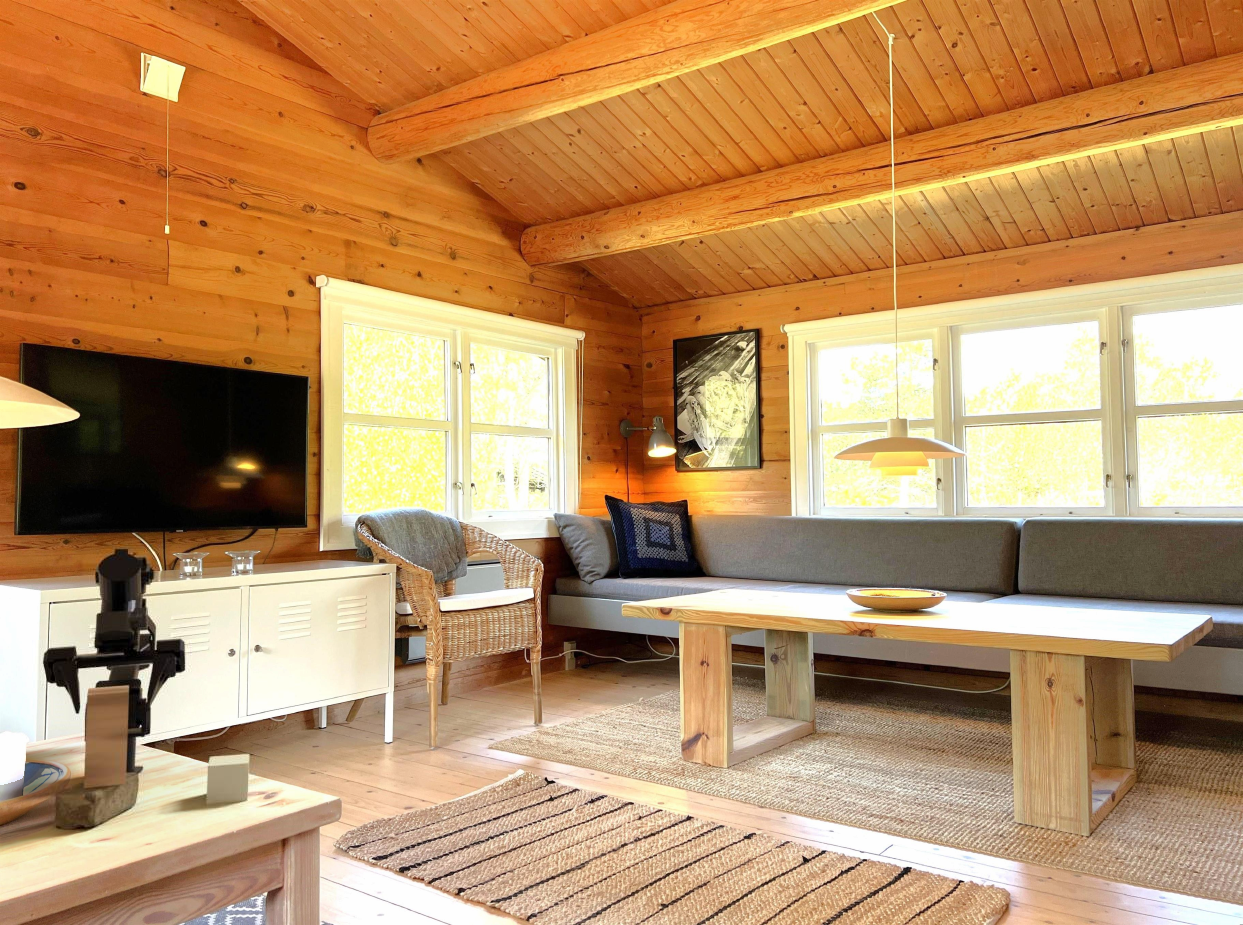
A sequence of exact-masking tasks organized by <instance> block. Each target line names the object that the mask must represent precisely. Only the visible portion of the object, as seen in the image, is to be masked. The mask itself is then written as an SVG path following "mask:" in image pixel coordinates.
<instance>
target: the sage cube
mask: <svg viewBox="0 0 1243 925" xmlns="http://www.w3.org/2000/svg"><path fill="white" fill-rule="evenodd" d="M208 760H209V761H208V764H207V776H206V778H207V781H206V783H207V784H206V805H213V804H215V805H217V804H224V803H237V802H246V801H247V802H248V798H249V780H250V779H249V778H250V776H249V775H250V774H249V773H250V753H242V754H230V755H219V756H218V755H217V756H216V755H215V756H210V757H209V759H208Z"/></svg>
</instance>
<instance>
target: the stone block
mask: <svg viewBox="0 0 1243 925" xmlns="http://www.w3.org/2000/svg"><path fill="white" fill-rule="evenodd" d="M139 781H140V779H139V773H134V772H132V773H126V784H118V785H110V786H101V787H93V788H84V781H82V782H79V783H78V784H75V785H74V786H71V787H69V788H67V789H64V790H63V791H60V792H58V793H57V795H56V796H55V801H54V809H55V811H54V814H55V816H54V821H53V822H54V823H53V824H54V827H55V828H61V830H62V829H63V830H75V829H77V828H80V827H81V828H82V827H85V828H90V827H97V826H98V825H100V824H103V823H105V822H107V821H108V820H111V819H113V818H115V817H117V816H119V815H120V814H122V813H124V812H126V811H128V810H129V809H131V808H133V807H134V806H135V805H136V803H137V798H138V794H139V783H140V782H139Z"/></svg>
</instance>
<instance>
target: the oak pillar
mask: <svg viewBox="0 0 1243 925" xmlns="http://www.w3.org/2000/svg"><path fill="white" fill-rule="evenodd" d="M86 695H87V696H86V697H87V698H86V703H87V715H86V741H85V747H84V748H85V750H84V775H83V776H84V777H83V782H84V788H93V787H101V786H110V785H118V784H126V763H127V733H128V704H129V685H128V686H114V687H100V688H95V687H89V688H88V690H87V694H86Z"/></svg>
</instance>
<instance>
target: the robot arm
mask: <svg viewBox="0 0 1243 925" xmlns="http://www.w3.org/2000/svg"><path fill="white" fill-rule="evenodd" d="M129 550H130V549H129V548H115V549H114V552H113V553H112V554H110V555H108V556H105V557H104V558H103V559H102V560H101V561H100V562H99V563H98V565H97V568H96V570H95V573H94V578H95V584H96V585H97V587H98V586H99V596H100V598H101V605H100V612H98V613H97V614H96V615H95V616H96V617H95V620H96V621H95V630H94V631H95V632H94V642H93V645H94V649H96V653H93V652H92V653H83V654H82V653H81V654H78V653H77V646H76V645H72V646H70V645H69V646H59V647H49V648H48V649H47V650H46V651H45V652H44V653H43V657H42V658H43V659H42V664H43V669H44V674H45V679H46V682H47V683H48V684H55V686H56V687H58V688H64V689H65V691H66V692H67V693H68V695H69V698H70V700H71V703H72V705H73V709H74V712H75V714H76V715H78V714H80V710H81V694H80V693H81V692H80V690H81V689H80V680H79V679H80V678H79V669H92V668H105V667H106V670H107V671H110V673H109V675H108V676H109V677H108V680H98V682H96V683H95V687H94V688H100V687H114V686H128V685H129V704H128V733H127V763H126V773H132V772H134V773H137V774H139V773H140V772H142V771H144V766H142V765H141V766H140V765H139V766H137V765H136V755H137V754H136V753H137V749H136V748H137V738H140V737H141V738H145V736H149V735H150V734H151V728H152V727H151V723H152V722H151V721H152V720H151V719H152V717H151V716H152V712H151V711H152V709H151V708H152V707H151V706H152V705H153V702H154V700H156V697H157V695H158V694H159V692H160V690H161V689H162V687H163V685H165V684H166V682H168V680H169V679H170V678H175V677H176V675H177V674H181V673H183V672H185V671H186V642H185V641H184V640H183V639H182V638H172V639H171V638H170V639H169V638H168V639H157V625H156V624H155V622H154V621H153V619H152V618H151V616H150V615H149V608H148V607H147V598H145V597H143V596H144V595H145V594H146V592H147V586H151V584H152V583H153V580H154V579H155V578H156V570H155V569H154V568H153V566H152V563H148V558H147V557H146V556H134V555H132V554H130V551H129ZM143 631H148V633H141V632H143ZM156 639H157V640H156ZM150 665H152V667H151V673H150V678H149V682H148V688H147V693H146V694H147V695H146V697H143V688H142V680H141V679H140V678H139V674H140V671H144V670H146V669H149V668H150ZM84 710H85V712H84V742H86V715H87V702H86V703H85V709H84Z"/></svg>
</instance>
